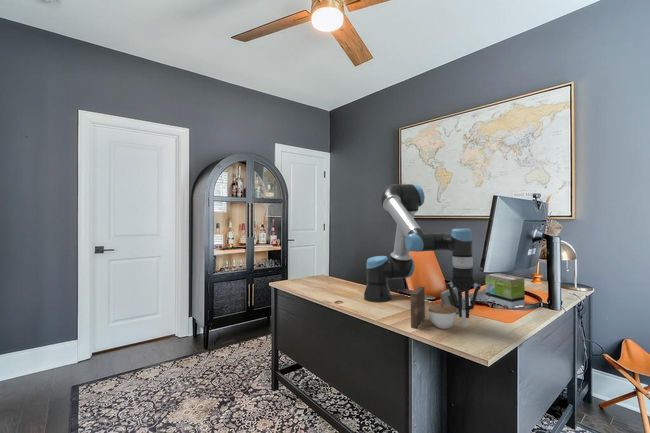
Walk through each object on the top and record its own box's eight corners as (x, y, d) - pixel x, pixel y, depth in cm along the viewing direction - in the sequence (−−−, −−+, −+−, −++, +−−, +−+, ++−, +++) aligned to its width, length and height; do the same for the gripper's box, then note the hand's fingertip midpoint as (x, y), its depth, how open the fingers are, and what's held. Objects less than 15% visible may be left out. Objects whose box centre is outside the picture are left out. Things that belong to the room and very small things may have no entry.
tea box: (484, 302, 164) (484, 274, 164) (498, 299, 168) (497, 272, 168) (511, 309, 151) (511, 279, 151) (525, 307, 154) (525, 277, 155)
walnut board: (411, 327, 128) (410, 293, 128) (419, 317, 141) (418, 286, 141) (417, 328, 127) (416, 294, 127) (425, 317, 140) (424, 286, 140)
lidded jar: (462, 326, 127) (461, 303, 127) (446, 332, 121) (444, 308, 122) (440, 320, 136) (439, 299, 136) (424, 325, 130) (422, 303, 131)
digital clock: (449, 317, 140) (448, 294, 140) (432, 312, 148) (432, 290, 148) (470, 311, 149) (470, 289, 149) (454, 306, 157) (453, 285, 157)
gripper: (444, 267, 125) (445, 326, 125) (480, 269, 119) (481, 331, 118) (446, 264, 131) (448, 320, 131) (481, 266, 125) (482, 325, 125)
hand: (464, 325), depth 125 cm, fingers closed
